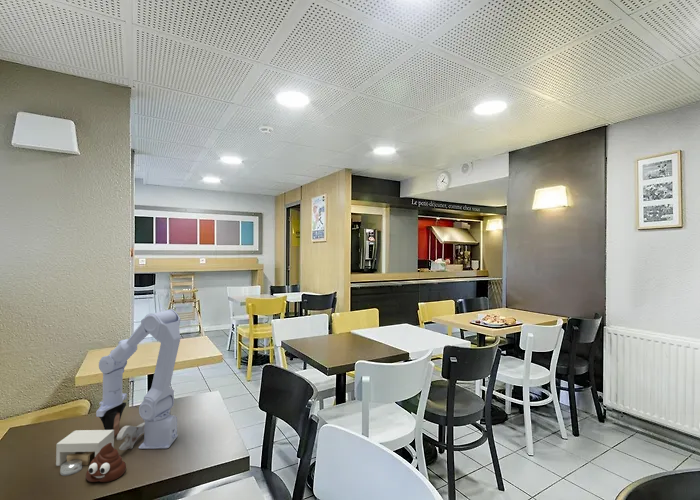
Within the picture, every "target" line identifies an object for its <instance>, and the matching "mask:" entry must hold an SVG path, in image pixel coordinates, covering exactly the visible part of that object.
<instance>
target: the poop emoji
mask: <svg viewBox="0 0 700 500" xmlns="http://www.w3.org/2000/svg"><path fill="white" fill-rule="evenodd" d="M126 469H127V465H126V463H125V462H124V460H123V458H122V456H121V455H120V453H119V451H118V450H117V449H116V448H115V447H114V448H113V446H112V443H108V444H107V445H105V446H104V447H103V448H102V449H101V450H100V452H99V453H98V454H97V455H96V456H95V455H94V458H93V459H92V460H90V463H89V467H88V469H87V471H86V472H85V478H86V480H87V482H89V483H96V482H100V483H108V482H112V481H115V480H118V479H119V478H121V477H122V476H123V475H124V474H125V472H126Z"/></svg>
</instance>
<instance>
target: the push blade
mask: <svg viewBox="0 0 700 500" xmlns="http://www.w3.org/2000/svg"><path fill="white" fill-rule="evenodd" d="M120 422H121V419H120V413H116V416H115V419H114V426H113V430H114V438H115V437H117V435H118V433H119V431H120ZM103 430H105V429H104V428H103ZM93 454H95V452H82V453H74V454H69V455H67V460H66V462H67V461H69V460H72V459H81V460H82V466H88V465H90V463H91V456H92V455H93Z"/></svg>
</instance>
